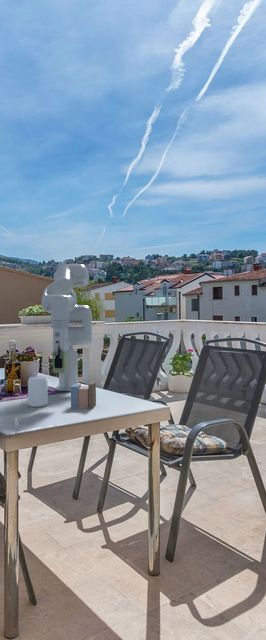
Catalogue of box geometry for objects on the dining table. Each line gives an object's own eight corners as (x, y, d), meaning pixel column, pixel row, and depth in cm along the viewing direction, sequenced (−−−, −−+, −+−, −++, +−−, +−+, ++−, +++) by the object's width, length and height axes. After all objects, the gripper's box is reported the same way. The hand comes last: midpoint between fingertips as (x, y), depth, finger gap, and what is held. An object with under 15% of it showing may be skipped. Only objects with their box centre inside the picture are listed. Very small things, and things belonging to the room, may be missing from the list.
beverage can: (28, 408, 211) (28, 379, 210) (27, 404, 219) (27, 376, 218) (48, 407, 213) (47, 378, 212) (46, 403, 220) (46, 375, 220)
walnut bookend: (91, 404, 217) (91, 381, 216) (96, 404, 216) (95, 381, 216) (88, 408, 210) (88, 384, 209) (93, 408, 210) (93, 384, 209)
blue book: (74, 404, 217) (73, 384, 217) (80, 404, 217) (80, 384, 216) (70, 408, 211) (70, 386, 210) (77, 408, 210) (77, 386, 210)
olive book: (56, 370, 217) (56, 349, 217) (67, 370, 217) (67, 349, 216) (52, 372, 211) (52, 351, 210) (64, 372, 210) (64, 351, 210)
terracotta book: (81, 405, 217) (81, 386, 216) (90, 405, 216) (90, 386, 216) (78, 408, 210) (78, 389, 210) (87, 408, 210) (87, 389, 210)
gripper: (64, 325, 204) (64, 369, 205) (73, 323, 221) (73, 364, 222) (46, 325, 205) (46, 369, 205) (56, 323, 222) (56, 364, 223)
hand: (60, 366), depth 214 cm, fingers closed on olive book, 6 cm apart
